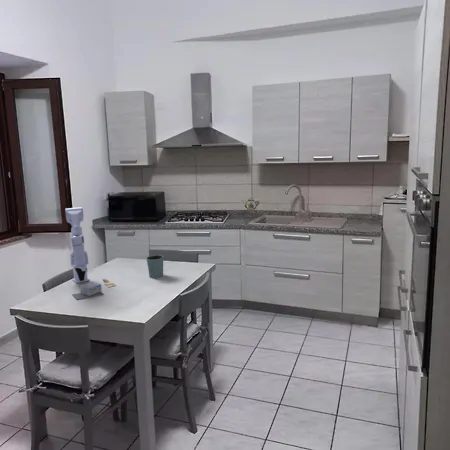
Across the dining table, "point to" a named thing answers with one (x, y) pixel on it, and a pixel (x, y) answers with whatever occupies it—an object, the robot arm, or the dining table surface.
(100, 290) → the medicine box
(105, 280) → the beech turner
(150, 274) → the teal utensil pot
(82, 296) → the slate mat
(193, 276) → the dining table surface
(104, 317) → the dining table surface
